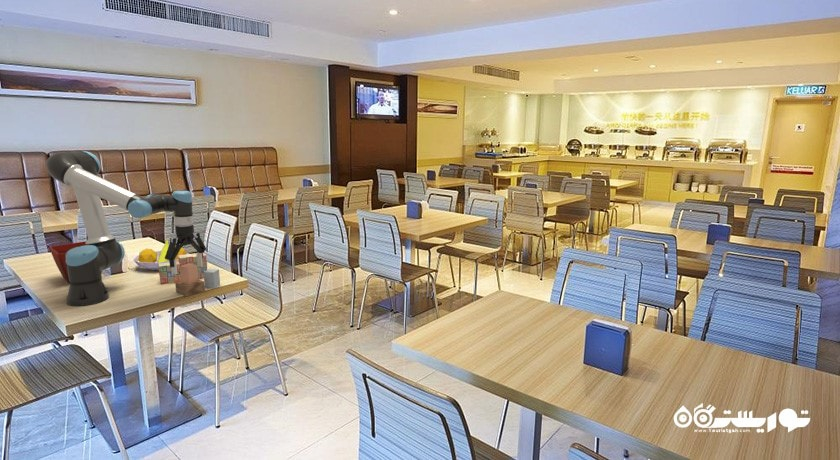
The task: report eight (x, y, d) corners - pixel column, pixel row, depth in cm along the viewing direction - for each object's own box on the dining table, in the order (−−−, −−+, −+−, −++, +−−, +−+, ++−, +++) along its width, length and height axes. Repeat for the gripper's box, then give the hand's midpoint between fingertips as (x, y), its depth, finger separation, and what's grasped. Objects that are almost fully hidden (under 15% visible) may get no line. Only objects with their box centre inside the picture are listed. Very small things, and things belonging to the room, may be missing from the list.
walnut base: (186, 296, 213) (185, 286, 212) (176, 292, 218) (175, 282, 217) (205, 291, 220) (204, 281, 219) (194, 287, 225) (193, 277, 224)
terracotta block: (189, 284, 215) (187, 267, 213) (181, 282, 217) (179, 266, 215) (198, 281, 219) (196, 264, 218) (190, 279, 221) (188, 263, 219)
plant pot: (62, 287, 221) (57, 253, 218) (54, 278, 234) (48, 246, 230) (109, 278, 235) (105, 246, 232) (98, 270, 248) (94, 240, 244)
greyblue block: (214, 288, 224) (213, 272, 222) (204, 287, 225) (203, 271, 223) (220, 285, 229) (218, 269, 227) (210, 284, 229) (209, 268, 228)
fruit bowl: (174, 274, 245) (172, 253, 242) (123, 273, 245) (120, 252, 243) (200, 259, 272) (198, 240, 269) (154, 258, 272) (152, 239, 270)
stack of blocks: (160, 284, 228) (158, 260, 226) (159, 281, 233) (157, 257, 231) (208, 278, 239) (206, 254, 237) (206, 274, 245) (204, 252, 242)
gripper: (165, 230, 200) (168, 278, 204) (212, 221, 222) (215, 264, 226) (153, 228, 203) (157, 275, 207) (201, 219, 225) (204, 262, 229)
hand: (187, 269), depth 217 cm, fingers open, 13 cm apart
